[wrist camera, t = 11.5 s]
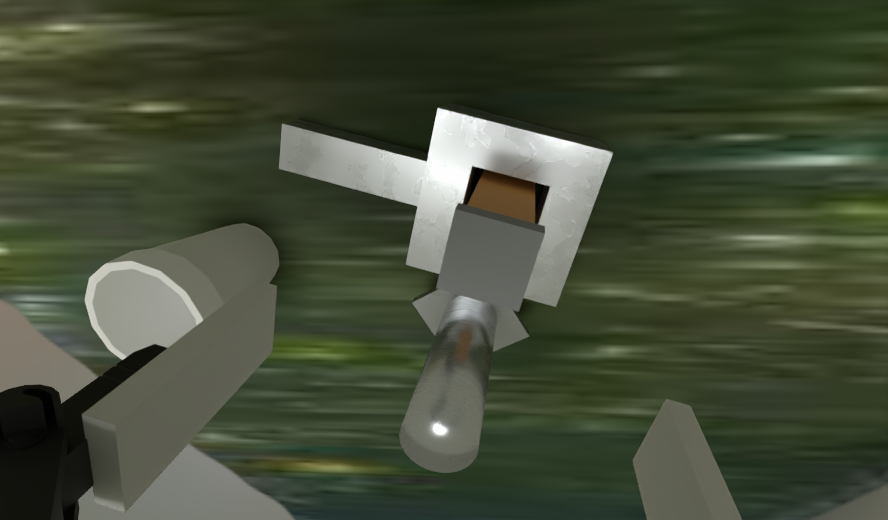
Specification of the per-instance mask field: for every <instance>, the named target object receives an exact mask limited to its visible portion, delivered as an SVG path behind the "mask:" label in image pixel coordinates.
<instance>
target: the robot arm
mask: <svg viewBox="0 0 888 520" xmlns="http://www.w3.org/2000/svg"><path fill="white" fill-rule="evenodd" d="M276 294H277V286H276V285H272V284H269V283H265V282H262V281H258V280H255V281H254V282H252V283H251V284H250V285H249V286H247V287H246V288H245V289H243V290H242V291H241V292H239V293H238V294H237V295H236V296H234V297H233V298H232V299H230V300H229V301H228V302H227V303H225V304H224V305H223V306H221V307H220V308H219V309H217V310H216V311H215V312H214V313H212V314H211V315H210V316H208V317H207V318H206V319H205V320H203V321H202V322H201V323H199V324H198V325H197V326H195V327H194V328H193V329H192V330H190V331H189V332H188V333H186V334H185V335H184V336H183V337H181V338H180V339H179V340H177V341H176V342H175V343H173V344H172V345H171V346H170V347H168V348H166V347H163V346H160V345H157V344H153V345H150V346H148V347H145V348H143V349H140V350H138V351H135V352H133V353H132V354H130V355H129V356H127V357H126V358H125V359H123V360H122V361H120V362H119V363H118V364H117V366H116V367H114V366H113V367H112V368H111V369H109V370H108V371H107V372H105V373H104V374H103V376H102V377H101V376H100V377H98V378H97V379H95V380H94V381H93V382H91V383H90V384H88V385H87V386H86V387H84V388H83V389H81V390H80V391H79V392H77V393H76V394H74V395H73V396H72V397H70V398H69V399H67V400H66V401H65V402H63V403H62V404H61V401H60V395H59V392H57V391H56V390H55V389H54V388H52V387H49V386H44V385H24V386H20V387H16V388H11V389H8V390H5V391H3V392H1V393H0V520H78V514H79V504H78V499H79V498H80V497H81V496H82V495H83V494H84V493H85V492H86V491H88V489H90V488H91V487H92V486H93V492H94V499H95V503H97V504H100V505H103V506H106V507H109V508H112V509H115V510H118V511H121V512H124V513H125V512H126V511H127V510H128V509H129V508H130V507H131V506H132V505H133V503H134V502H135V501H136V500H137V499H138V498H139V497H140V496H141V495H142V493H144V491H145V490H146V489H147V488H148V487H149V486H150V485H151V484H152V483H153V481H154V480H155V479H156V478H157V477H158V476H159V475H160V474H161V473H162V472H163V471H164V470H165V468H166V467H167V466H168V465H169V464H170V463H171V462H172V461H173V460H174V459H175V457H176V456H177V455H178V454H179V453H180V452H181V451H182V450H183V449H184V448H185V447H186V446H187V444H188V443H189V442H190V441H191V440H192V439H193V438H194V437H195V436H196V435H197V433H198V432H199V431H200V430H201V429H202V428H203V427H204V426H205V425H206V424H207V423H208V421H209V420H210V419H211V418H212V417H213V416H214V415H215V414H216V413H217V412H218V410H219V409H220V408H221V407H222V406H223V405H224V404H225V403H226V402H227V401H228V400H229V398H230V397H231V396H232V395H233V394H234V393H235V392H236V391H237V390H238V389H239V388H240V386H241V385H242V384H243V383H244V382H245V381H246V380H247V379H248V378H249V377H250V375H251V374H252V373H253V372H254V371H255V370H256V369H257V368H258V367H259V366H260V365H261V363H262V362H263V361H264V360H265V359H266V358H267V357H268V356H269V355H270V354H271V353H272V349H273V335H274V321H275V307H276ZM633 464H634V468H635V472H636V476H637V481H638V485H639V489H640V493H641V497H642V501H643V505H644V509H645V513H646V517H647V520H742V519H741V517H740V514H739V512H738V510H737V508H736V506H735V503H734V501H733V499H732V497H731V495H730V492H729V490H728V488H727V486H726V483H725V481H724V479H723V477H722V475H721V472H720V470H719V468H718V466H717V464H716V461H715V459H714V457H713V455H712V453H711V450H710V448H709V446H708V444H707V442H706V439H705V437H704V435H703V433H702V431H701V428H700V426H699V424H698V422H697V419H696V417H695V415H694V413H693V411H692V408H691V406H689V405H685V404H682V403H679V402H675V401H672V400H668V399H666V400H665V402H664V403H663V405H662V407H661V409H660V411H659V413H658V415H657V416H656V418H655V420H654V422H653V424H652V426H651V427H650V429H649V431H648V433H647V435H646V437H645V439H644V440H643V442H642V444H641V446H640V448H639V450H638V451H637V453H636V455H635V457H634V459H633Z"/></svg>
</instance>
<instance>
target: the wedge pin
mask: <svg viewBox="0 0 888 520" xmlns="http://www.w3.org/2000/svg"><path fill="white" fill-rule="evenodd" d="M544 235H545V226H542V225H539V224H535V182H532V181H528V180H524V179H520V178H516V177H512V176H509V175H505V174H501V173H497V172H493V171H490V170H486V169H485V170H484V172H483V174H482V176H481V178H480V180H479V182H478V184H477V186H476V188H475V190H474V192H473V194H472V196H471V198H470V200H469V202H468V204H467V205H464V204H461V203H458V205H457V207H456V208H455V212H454V216H453V220H452V224H451V228H450V232H449V236H448V241H447V245H446V249H445V253H444V257H443V261H442V265H441V270H440V274H439V278H438V282H437V286H436V288H437V289H440V290H444V291H447V292H451V293H454V294H458V295H461V296H465V297H468V298H472V299H475V300H479V301H483V302H486V303H490V304H493V305H497V306H500V307H504V308H507V309H511V310H514V311H518V312H519V309H520V306H521V303H522V301H523V298H524V295H525V292H526V289H527V286H528V283H529V280H530V277H531V274H532V271H533V268H534V265H535V262H536V259H537V256H538V253H539V250H540V247H541V244H542V241H543V238H544Z"/></svg>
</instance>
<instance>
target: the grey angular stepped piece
mask: <svg viewBox="0 0 888 520" xmlns="http://www.w3.org/2000/svg"><path fill="white" fill-rule="evenodd" d="M612 155H613V152H612V151H611V149H610V148H609V147H608V146H607V145H606V144H605V143H604V142H603V141H600V140H596V139H592V138H588V137H584V136H580V135H576V134H572V133H568V132H564V131H560V130H556V129H552V128H548V127H544V126H541V125H537V124H533V123H529V122H525V121H521V120H517V119H513V118H509V117H505V116H501V115H497V114H493V113H489V112H485V111H481V110H477V109H473V108H469V107H465V106H461V105H457V104H453V103H448V104H446V105H444V106H441V107H439V108H438V109H437V114H436V119H435V124H434V129H433V133H432V138H431V143H430V148H429V153H426V152H422V151H418V150H415V149H411V148H407V147H403V146H399V145H396V144H392V143H388V142H384V141H380V140H376V139H373V138H369V137H365V136H361V135H357V134H354V133H350V132H346V131H342V130H338V129H334V128H331V127H327V126H323V125H319V124H315V123H312V122H308V121H304V120H296V121H291V122H287V123H283V124H282V133H281V147H280V162H279V169H282V170H286V171H289V172H293V173H297V174H300V175H304V176H308V177H312V178H315V179H319V180H323V181H326V182H330V183H334V184H337V185H341V186H345V187H348V188H352V189H356V190H359V191H363V192H367V193H370V194H374V195H378V196H381V197H385V198H389V199H393V200H396V201H400V202H404V203H407V204H411V205H415V206H418V207H417V212H416V216H415V221H414V226H413V231H412V236H411V241H410V246H409V251H408V256H407V260H406V265H409V266H412V267H416V268H420V269H423V270H427V271H430V272H434V273H437V274H440V270H441V265H442V261H443V257H444V253H445V249H446V245H447V241H448V236H449V232H450V228H451V224H452V220H453V216H454V212H455V208H456V207H457V205H458V203H461V204H464V205H467V203H468V199H469V195H470V191H471V187H472V183H473V179H474V175H475V171H476V167H478V168H482V169H486V170H490V171H493V172H497V173H501V174H505V175H509V176H512V177H516V178H520V179H524V180H528V181H532V182H535V183H539V184H543V185H544V187H543V191H542V194H541V197H540V200H539V203H538V206H537V209H536V212H535V224H539V225H542V226H545V235H544V238H543V241H542V244H541V247H540V250H539V253H538V256H537V259H536V262H535V265H534V268H533V271H532V274H531V277H530V280H529V283H528V286H527V289H526V292H525V295H524V298H526V299H529V300H533V301H536V302H540V303H544V304H547V305H551V306H554V307H556V305H557V302H558V300H559V297H560V294H561V292H562V289H563V286H564V284H565V281H566V278H567V276H568V273H569V270H570V268H571V265H572V262H573V259H574V257H575V254H576V251H577V249H578V246H579V243H580V241H581V238H582V235H583V233H584V230H585V227H586V225H587V222H588V219H589V216H590V214H591V211H592V208H593V206H594V203H595V200H596V198H597V195H598V192H599V190H600V187H601V184H602V182H603V179H604V176H605V174H606V171H607V168H608V165H609V163H610V160H611V157H612ZM412 303H413V305H414V306H415V308H416V309H417V311H418V312H419V314H420V315H421V316H422V318H423V319H424V321H425V322H426V324H427V325H428V327H429V328H430V330H431V331H432V333H433V334H434V335H435V337H434V340H433V343H432V345H431V348H430V351H429V354H428V356H427V359H426V362H425V364H424V367H423V370H422V372H421V375H420V378H419V380H418V383H417V386H416V389H415V391H414V394H413V397H412V399H411V402H410V405H409V407H408V410H407V413H406V415H405V418H404V421H403V423H402V426H401V429H400V434H399V435H400V443H401V446H402V448H403V450H404V452H405V453H406V454H407V456H408V457H409V458H410V459H411V460H412V461H414V462H415V463H416V464H418V465H420V466H421V467H423V468H425V469H428V470H431V471H435V472H442V473H450V472H456V471H459V470H462V469H464V468H466V467H467V466H469V465H470V464H471V463H472V462H473V461H474V459H475V458H476V455H477V452H478V447H479V440H480V433H481V427H482V420H483V413H484V406H485V400H486V393H487V386H488V380H489V373H490V366H491V360H492V353H493V352H494V351H496V350H498V349H501V348H503V347H505V346H508V345H510V344H512V343H515V342H517V341H520V340H522V339H524V338H527V337H529V330H528V328H527V327H526V325H525V324H524V322H523V320H522V319H521V317H520V316H519V314H518V312H517V311H514V310H511V309H507V308H504V307H500V306H497V305H493V304H490V303H486V302H483V301H479V300H475V299H472V298H468V297H465V296H461V295H458V294H454V293H451V292H447V291H444V290H440V289H437V288H434V289H432V290H430V291H428V292H426V293H424V294H422V295H420V296H418V297H416V298H414V300H413V302H412Z"/></svg>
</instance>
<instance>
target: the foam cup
mask: <svg viewBox="0 0 888 520" xmlns="http://www.w3.org/2000/svg"><path fill="white" fill-rule="evenodd" d="M278 267H279V255H278V250H277V248H276V247H275V245H274V243H273V241H272V239H271V238H270V237H269V236H268V235H267V234H266V233H264V232H263V231H262V230H261V229H260V228H258V227H255V226H252V225H249V224H246V223H241V224H233V225H230V226H225V227H222V228H218V229H215V230H212V231H208V232H205V233H201V234H198V235H195V236H191V237H188V238H185V239H181V240H178V241H174V242H171V243H168V244H164V245H161V246H158V247H154V248H151V249H145V250H137V251H132V252H129V253H127V254H125V255H123V256H121V257H119V258H116V259H114V260H112V261H110V262H108V263H106V264H104V265H103V266H102V267H101V268H100V269H99V270H98V271H97V272H95V273H94V274H93V275H92V276H91V277H90V278H89V281H88V286H87V291H86V296H85V304H86V307H87V311H88V314H89V318H90V321H91V325H92V327H93V328H94V330H95V331H96V332H97V334H98V335H99V337H100V338H101V339H102V341H103V342H104V344H105V345H106V346H107V348H108V349H109V350H110V351H111V352H112V353H114V354H115V355H116V356H118V357H119V358H120V359H122V360H123V359H125V358H126V357H127V356H129V355H130V354H132V353H133V352H135V351H138V350H140V349H143V348H145V347H148V346H150V345H153V344H157V345H160V346H163V347H166V348H168V347H170V346H171V345H172V344H173V343H175V342H176V341H177V340H179V339H180V338H181V337H183V336H184V335H185V334H186V333H188V332H189V331H190V330H192V329H193V328H194V327H195V326H197V325H198V324H199V323H201V322H202V321H203V320H205V319H206V318H207V317H208V316H210V315H211V314H212V313H214V312H215V311H216V310H217V309H219V308H220V307H221V306H223V305H224V304H225V303H227V302H228V301H229V300H230V299H232V298H233V297H234V296H236V295H237V294H238V293H239V292H241V291H242V290H243V289H245V288H246V287H247V286H249V285H250V284H251V283H252V282H254V281H255V280H258V281H262V282H265V283H270V282H271V280H272V279H273V277H274V276H275V274H276V272H277V270H278Z"/></svg>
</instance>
